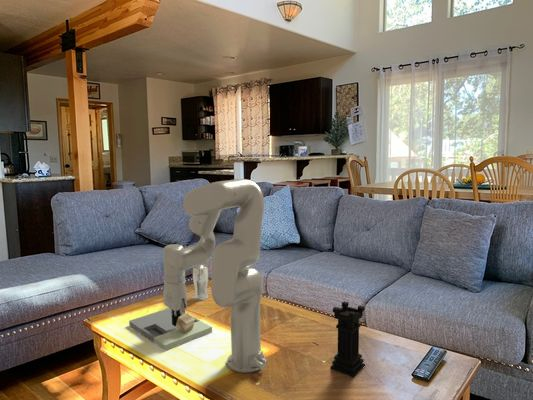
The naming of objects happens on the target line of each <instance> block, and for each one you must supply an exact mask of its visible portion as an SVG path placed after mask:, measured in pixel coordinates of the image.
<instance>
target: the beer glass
mask: <svg viewBox="0 0 533 400" xmlns="http://www.w3.org/2000/svg"><path fill="white" fill-rule="evenodd" d="M192 280H193V281H192V282H193V286H194V289H195V293H194V299H195V300H196V301H206V300H207V299H208V298H209V296H208V291H207V290H208V283H209V271H208V265H207V264H203V265H200V266H196V267H193V268H192Z"/></svg>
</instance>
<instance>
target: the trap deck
mask: <svg viewBox="0 0 533 400" xmlns="http://www.w3.org/2000/svg"><path fill="white" fill-rule="evenodd" d="M186 313H187V312H185V313H183V314H181V316H182V315H184V314H186ZM172 315H173V314H171V310H170V308H169V307H167V308H165V309H161V310H159V311H156V312H152V313H149V314H146V315H143V316H141V317H136V318H133V319H131V320H129V321H128V322H129V323H128V324H129V327H130V328H132V329H133V330H135V331H137V333H139V334H141V335H142V336H144V337H145V338H146V339H148V340H149V341H150V342H152V343H153V344H155V345H157V346H158V347H159V348H160V349H162V350H164V351H168V350H170V349H172V348H176V347H177V346H180V345H183V344H185V343H188V342H190V341H192V340H196V339H197V338H198V339H199V338H201V337H203V336H205V335H208V334H210V333H213V326H211V325H209V324H207V323H205V322H203V321H202V320H200V319H197V318H195V317H194V316H192V317H193V318H194V319H195V322H194V326H193V329H192V330H190V331H188V332H186V333H185V334H184V333H183V332H181V331H180V330H179V329H178V328H176V326H174V325H172Z"/></svg>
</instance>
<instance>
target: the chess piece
mask: <svg viewBox="0 0 533 400" xmlns="http://www.w3.org/2000/svg"><path fill="white" fill-rule="evenodd" d="M364 312H365V305H364V306H363V305H359V306H357V308H356V307H351V306H349V302H348V301H342V302H341V307H337V306H334V307H333V308H332V313H334V317H333V318H334V319H335V320H337V324H336V325H335V327H336V329H337V354H335V355H334V357H333V360H332V362H331V365H330V370H333V371H335V372H338V373H339V374H340V373H341V374H343V375H345V376H348V377H351V378H355V377H356V376H357V375H358V374H359V373H360V372H361V371H362V370H363V369H364V368H365V367H366V364H365V362H364V361H365V359H363V358H362V357H363V354H360V351H359V349H360V348H359V347H360V345H359V344H360V328H361V327H362V325H361V324H362V323H360V320H361V318H363V317H364V316H363V315H364V314H363V313H364ZM364 366H365V367H364ZM363 367H364V368H363ZM362 368H363V369H362ZM361 369H362V370H361ZM360 370H361V371H360ZM359 371H360V372H359ZM358 372H359V373H358Z"/></svg>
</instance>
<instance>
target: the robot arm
mask: <svg viewBox="0 0 533 400" xmlns="http://www.w3.org/2000/svg"><path fill="white" fill-rule="evenodd" d="M185 194H186V195H184V197H183V210H184V212H185V213H186V214H187V215H188V216H189V217H190V220H189V221H188V228H189V230H190V231H191V232H192V233H194V234H195V235H197V236H199V237H200V239H199V241H198V242H197V244H196V245H191V246H188V247H185V248H184V246H183V245H182V244H179V243H173V244H168V245H166V246H164V247H163V249H162V251H163V253H162V255H163V271H164V273H163V274H164V275H163V276H164V281H163V297H162V299H163V301H162V302H163V304H164V306H166V307H167V308H170V310H171V314H173V315H172V325H174V326H176V324H177V320H178V317H180V316H181V314H183V313H186V310H185V309H187V307H188V295H187V294H188V293H187V287H186V271H188V270H190V269H193V267H196V266H200V265H206V263H207V262H208V261H209V260H210V259H212V260H211V279H210V280H211V281H210V282H211V284H210V285H211V286H210V288H211V296H212V299H213V301H214V303H215V304H216V305H217V306H218V307H220V308H224V309H225V308H226V309H227V308H230V338H231V339H230V342H231V343H230V344H231V347H230V348H231V354H230V355H229V356H228V357H227V359H226V365H227V367H228V368H229V369H230V370H232V371H234V372H237V373H253V372H257V371H259V370H261V371H262V370H264V369H265V367H266V365H267V364H268V359H266V356H265V354H264V353H263V351H262V347H261V344H262V343H261V338H262V337H261V299H262V294H263V286H264V285H263V284H264V281H263V278H262V275H261V273H260V272H259V271H258V270H257V269H256V268H254V267H250V266H253V265H255V264H256V263H257V262H258V261H259V259H260V255H261V254H260V253H261V243H262V242H261V241H262V240H261V239H262V225H263V224H262V222H263V217H264V215H263V214H264V210H265V199H264V194H263V191H262V189H261V187H260V186H259V185H258V184H257V183H256V182H255V181H252V180H250V179H246V178H236V179H230V180H220V181H215V182H210V183H207V184H205V185H202V186H199V187H195V188H193V189H190V190H189V191H188V192H186V193H185ZM237 207H239V210H238V213H237V214H236V215H235V216H236V217H235V219H234V222H233V223H234V224H233V234H232V235H233V236H232V238H231V239H228V240H224V241H222V242H221V243H219V244H217V246H216V236H215V234H214V229H215V226H216V224H217V222H218V220H219V218H220V216H221V213H222V211H223V210H227V209H232V208H237ZM211 257H212V258H211Z"/></svg>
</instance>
